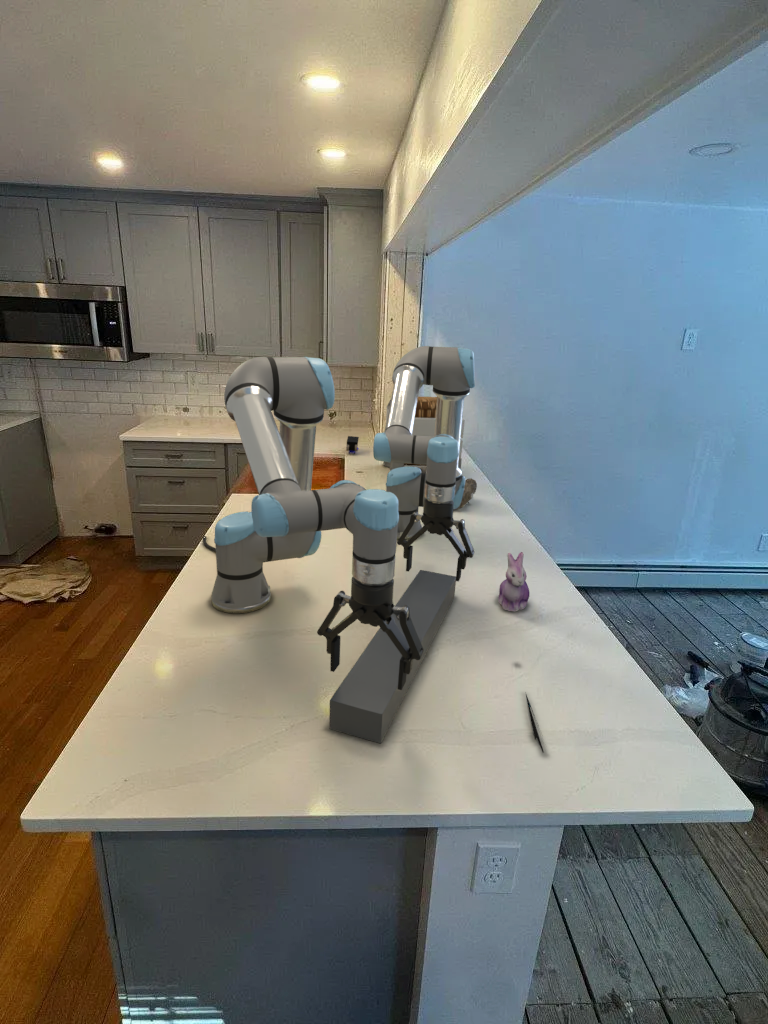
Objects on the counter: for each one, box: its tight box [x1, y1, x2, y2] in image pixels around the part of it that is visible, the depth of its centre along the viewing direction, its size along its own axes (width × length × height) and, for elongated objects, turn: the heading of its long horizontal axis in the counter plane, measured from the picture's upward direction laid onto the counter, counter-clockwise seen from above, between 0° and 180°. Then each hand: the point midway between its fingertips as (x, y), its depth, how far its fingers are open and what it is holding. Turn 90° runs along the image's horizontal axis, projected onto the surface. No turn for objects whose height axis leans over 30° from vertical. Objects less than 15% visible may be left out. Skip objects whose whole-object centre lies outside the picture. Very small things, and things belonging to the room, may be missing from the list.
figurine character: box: [345, 435, 360, 455], centre depth 308 cm, size 7×8×15 cm
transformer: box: [383, 396, 465, 472], centre depth 268 cm, size 34×33×41 cm
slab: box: [329, 569, 457, 744], centre depth 131 cm, size 60×10×6 cm, turn 161°
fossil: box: [453, 477, 478, 511], centre depth 233 cm, size 22×10×15 cm
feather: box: [525, 691, 547, 753], centre depth 115 cm, size 2×28×2 cm
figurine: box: [497, 551, 530, 612], centre depth 152 cm, size 9×10×15 cm
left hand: (367, 676), depth 108 cm, fingers open, 13 cm apart
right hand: (433, 574), depth 151 cm, fingers open, 13 cm apart
